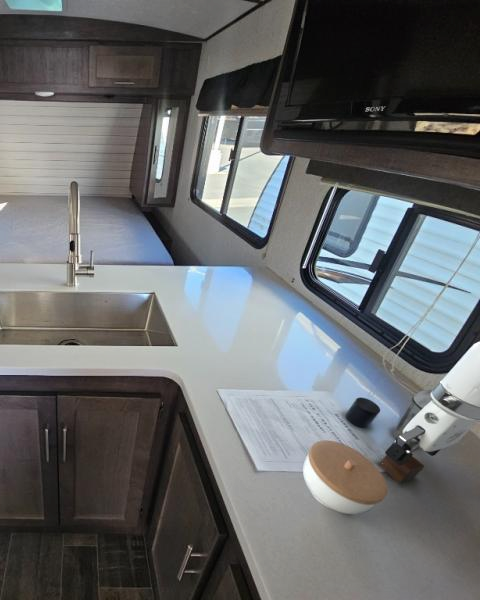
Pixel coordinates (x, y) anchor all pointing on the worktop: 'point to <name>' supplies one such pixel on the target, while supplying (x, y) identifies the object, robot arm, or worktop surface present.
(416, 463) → the walnut block
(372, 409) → the black cylinder
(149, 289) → the worktop surface
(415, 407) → the beverage cup
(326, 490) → the lidded bowl
